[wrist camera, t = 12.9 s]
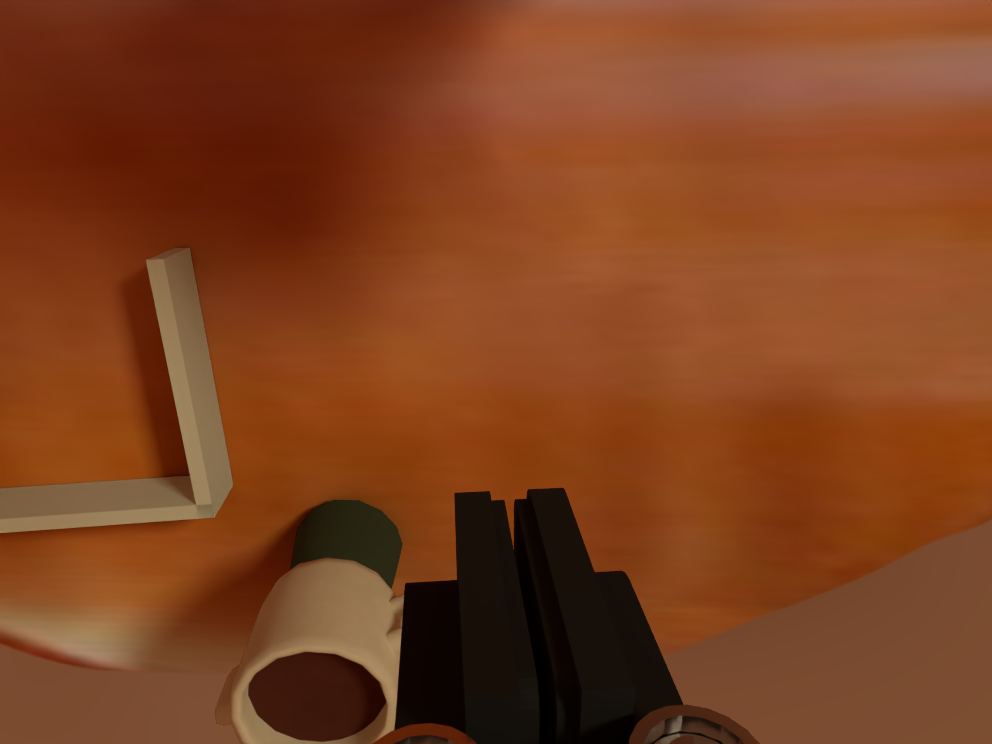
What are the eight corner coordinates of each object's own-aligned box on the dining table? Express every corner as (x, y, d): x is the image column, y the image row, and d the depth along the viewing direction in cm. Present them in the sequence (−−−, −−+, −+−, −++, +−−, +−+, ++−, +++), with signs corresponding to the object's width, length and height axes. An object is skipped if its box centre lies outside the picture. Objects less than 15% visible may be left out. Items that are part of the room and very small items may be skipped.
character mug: (298, 618, 42) (243, 814, 30) (238, 529, 40) (151, 704, 28) (457, 549, 42) (467, 721, 29) (405, 455, 39) (392, 599, 27)
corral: (-223, 266, 33) (-297, 280, 30) (189, 247, 34) (163, 259, 31) (-129, 510, 37) (-183, 546, 34) (233, 485, 39) (214, 517, 36)
